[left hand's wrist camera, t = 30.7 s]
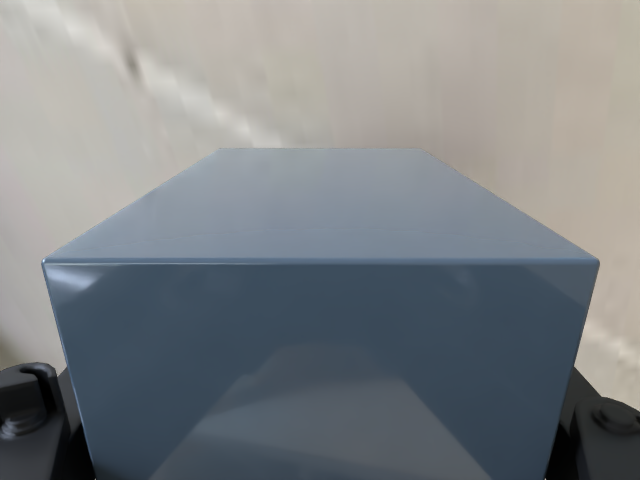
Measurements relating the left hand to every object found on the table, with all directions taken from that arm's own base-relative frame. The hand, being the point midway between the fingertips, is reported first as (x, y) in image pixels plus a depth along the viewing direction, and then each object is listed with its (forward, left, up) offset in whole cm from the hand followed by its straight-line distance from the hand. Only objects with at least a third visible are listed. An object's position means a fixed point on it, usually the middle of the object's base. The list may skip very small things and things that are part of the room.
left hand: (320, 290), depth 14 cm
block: (0, 0, -3) cm, 3 cm away
